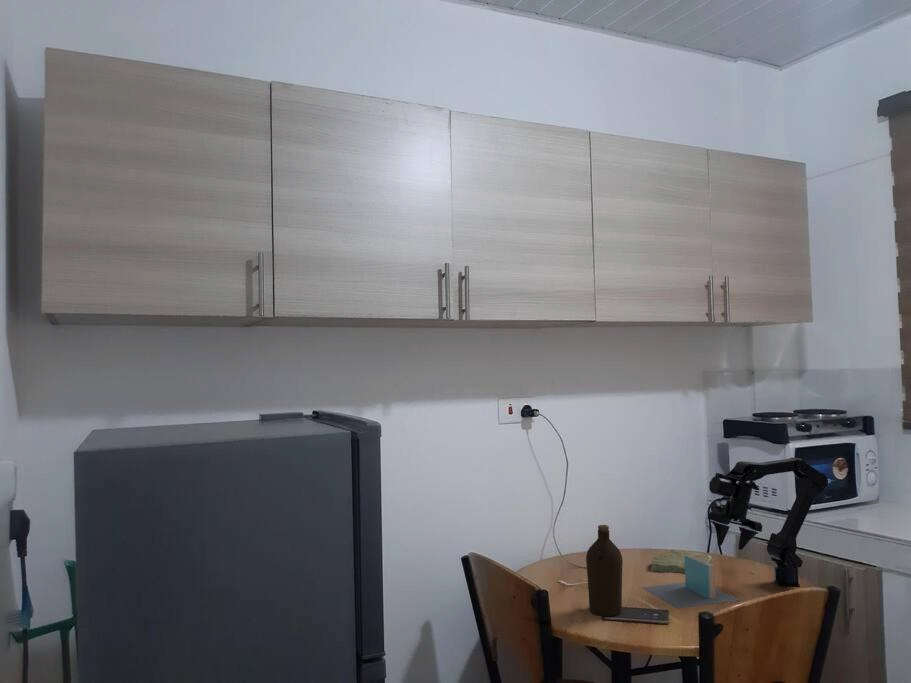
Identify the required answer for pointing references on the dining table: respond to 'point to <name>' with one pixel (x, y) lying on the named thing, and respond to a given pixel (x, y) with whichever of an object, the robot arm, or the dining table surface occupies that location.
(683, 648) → the dining table surface
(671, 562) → the decorative tile
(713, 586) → the tile
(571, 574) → the dining table surface
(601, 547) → the olive oil
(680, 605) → the mat
